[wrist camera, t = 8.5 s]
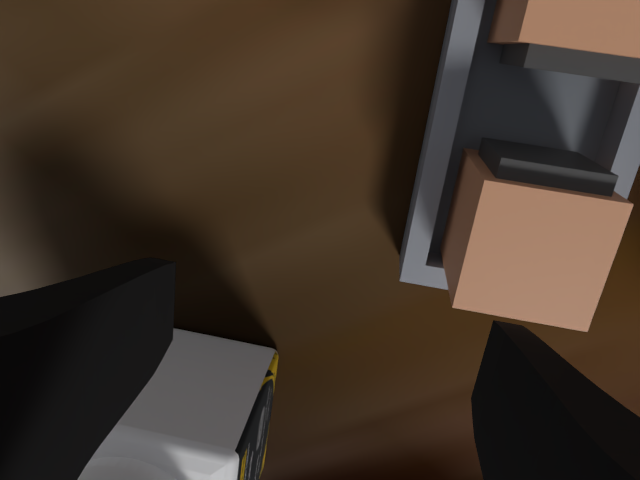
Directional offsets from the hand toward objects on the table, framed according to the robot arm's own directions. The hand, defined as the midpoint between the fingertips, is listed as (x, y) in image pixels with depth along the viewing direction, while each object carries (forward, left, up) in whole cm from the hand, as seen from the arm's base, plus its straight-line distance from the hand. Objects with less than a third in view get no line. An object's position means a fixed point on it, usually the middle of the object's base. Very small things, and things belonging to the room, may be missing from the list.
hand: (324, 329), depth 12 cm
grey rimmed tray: (-6, -5, -10) cm, 13 cm away
